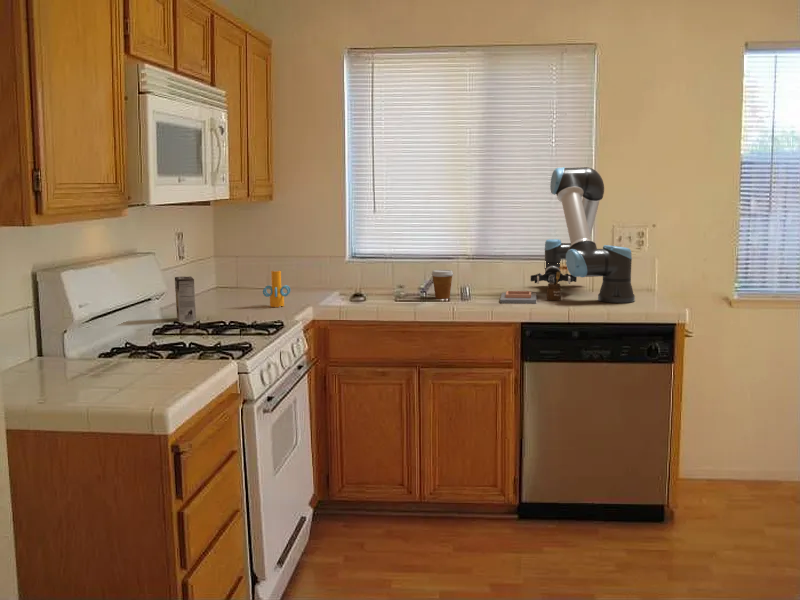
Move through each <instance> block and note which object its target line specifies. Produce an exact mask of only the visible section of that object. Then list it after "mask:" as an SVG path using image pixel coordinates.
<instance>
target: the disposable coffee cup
mask: <svg viewBox="0 0 800 600" xmlns="http://www.w3.org/2000/svg"><path fill="white" fill-rule="evenodd" d="M431 275H432V281H433V288H434V289H433V290H434V297H435V299H438V300H446V299H450V297H451V289H452V283H453V282H452V280H453V276H454V273H453V270H451V269H435V270H432V273H431Z"/></svg>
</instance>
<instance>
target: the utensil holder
mask: <svg viewBox="0 0 800 600" xmlns="http://www.w3.org/2000/svg"><path fill="white" fill-rule="evenodd" d="M557 274H558V275H559V277H560V272H557ZM550 276H551V275H550ZM559 277H558V276H557V275H556V279H557V282H558V279H559ZM553 279H554V278H553ZM557 282H556V283H552V282H551V283H548V284H547V289H546V300H547V301H549V302H550V301H551V302H558V301H561V300H562V299H561V298H562V289H561V284H560V283H559V282H558V283H557Z"/></svg>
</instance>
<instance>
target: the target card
mask: <svg viewBox="0 0 800 600" xmlns="http://www.w3.org/2000/svg"><path fill="white" fill-rule="evenodd" d="M499 303H500V304H527V305H529V304H534V305H535V304H537V292H532V291H531V290H529V291H528V290H506V292H501V295H500V299H499Z"/></svg>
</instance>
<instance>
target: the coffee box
mask: <svg viewBox="0 0 800 600" xmlns="http://www.w3.org/2000/svg"><path fill="white" fill-rule="evenodd" d="M174 285H175V287H174V288H175V291H174V292H175V306H176V318H177V319H178V321H179V322H191V321H192V322H193V321H194V322H195V321H197V318H196V317H197V316H196V313H197V312H196V293H195V292H196V290H195V279H194V278H193V277H192V276H174Z"/></svg>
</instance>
